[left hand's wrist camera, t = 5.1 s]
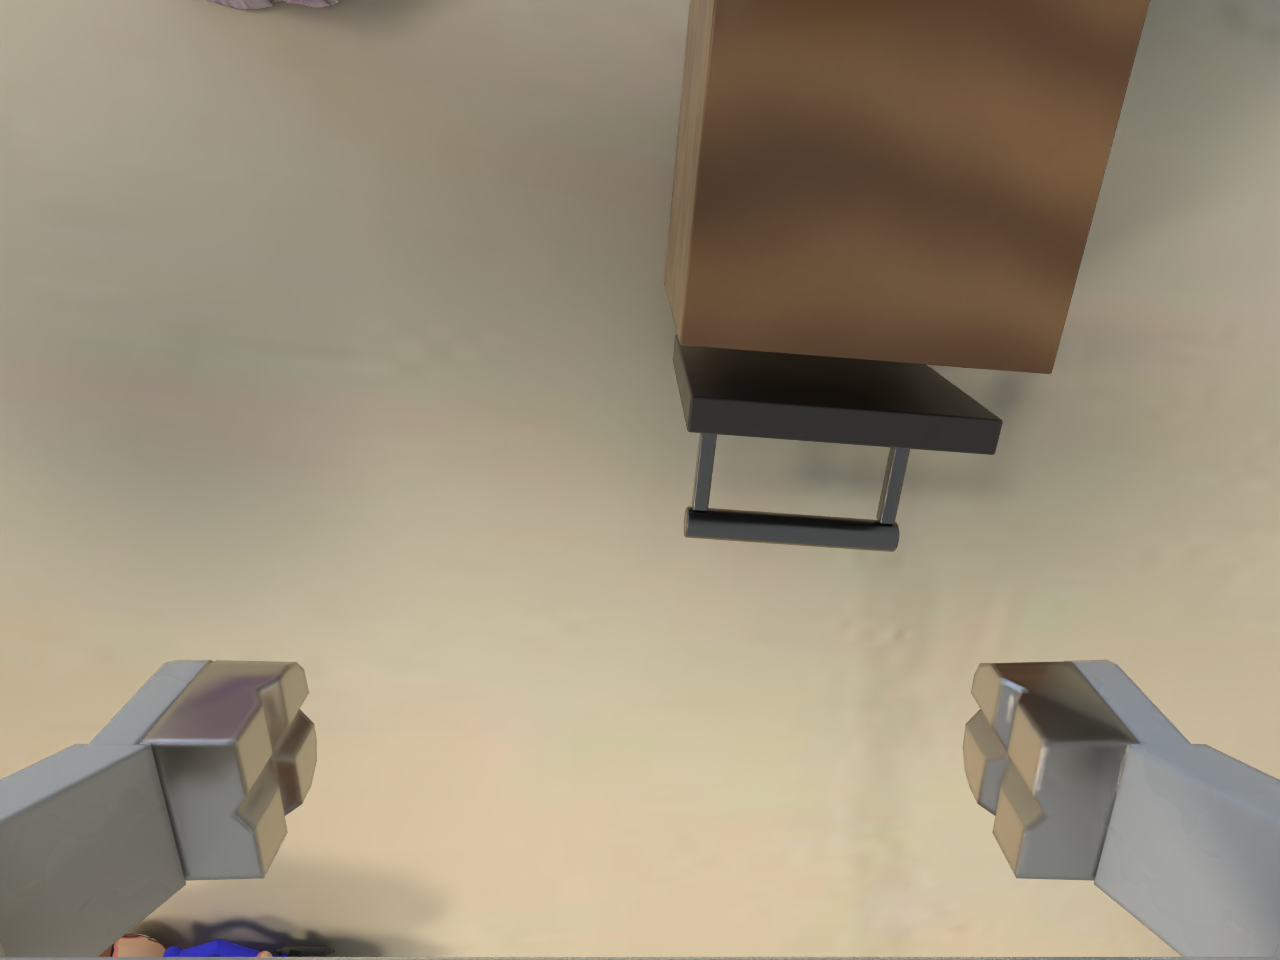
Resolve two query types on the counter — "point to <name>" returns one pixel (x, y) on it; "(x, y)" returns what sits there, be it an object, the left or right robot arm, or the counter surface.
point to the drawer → (820, 430)
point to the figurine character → (201, 949)
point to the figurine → (266, 0)
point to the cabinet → (892, 174)
